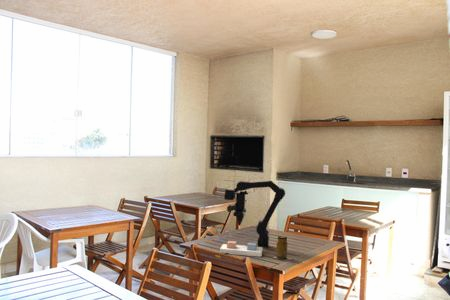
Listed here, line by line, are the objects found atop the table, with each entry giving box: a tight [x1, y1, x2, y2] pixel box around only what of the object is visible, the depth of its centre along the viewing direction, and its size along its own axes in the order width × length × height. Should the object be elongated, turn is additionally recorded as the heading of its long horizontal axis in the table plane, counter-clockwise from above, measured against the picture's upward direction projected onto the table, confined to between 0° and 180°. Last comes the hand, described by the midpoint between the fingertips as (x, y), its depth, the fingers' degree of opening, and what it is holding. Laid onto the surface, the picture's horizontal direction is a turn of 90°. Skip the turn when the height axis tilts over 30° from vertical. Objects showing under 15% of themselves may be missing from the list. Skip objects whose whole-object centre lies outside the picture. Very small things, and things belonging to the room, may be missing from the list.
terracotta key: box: [226, 240, 237, 249], centre depth 230 cm, size 5×5×4 cm
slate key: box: [246, 242, 258, 250], centre depth 228 cm, size 5×5×4 cm
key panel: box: [219, 243, 264, 257], centre depth 229 cm, size 24×12×2 cm, turn 81°
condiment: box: [272, 235, 293, 261], centre depth 221 cm, size 7×8×12 cm
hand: (239, 225), depth 249 cm, fingers closed
